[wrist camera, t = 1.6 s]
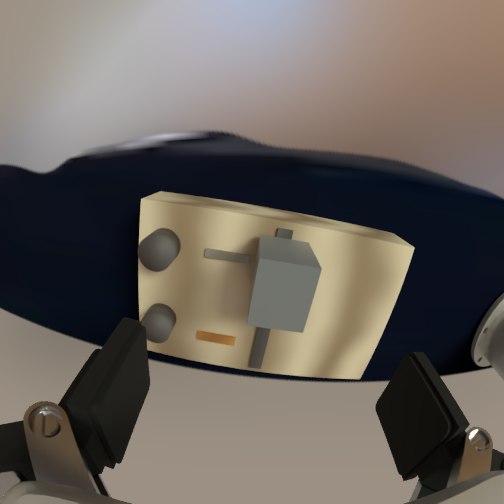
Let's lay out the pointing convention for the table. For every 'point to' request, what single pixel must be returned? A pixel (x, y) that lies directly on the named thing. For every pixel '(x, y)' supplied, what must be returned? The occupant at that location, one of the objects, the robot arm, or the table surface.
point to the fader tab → (282, 284)
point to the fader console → (239, 282)
